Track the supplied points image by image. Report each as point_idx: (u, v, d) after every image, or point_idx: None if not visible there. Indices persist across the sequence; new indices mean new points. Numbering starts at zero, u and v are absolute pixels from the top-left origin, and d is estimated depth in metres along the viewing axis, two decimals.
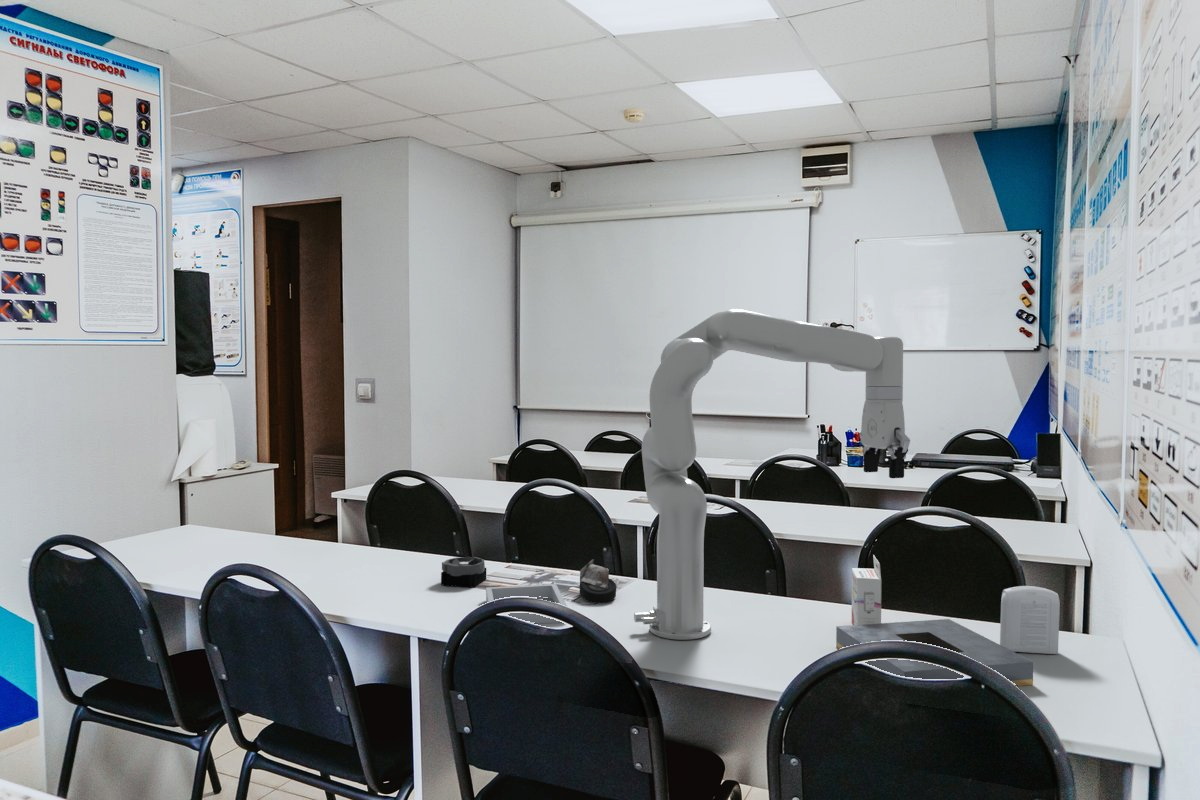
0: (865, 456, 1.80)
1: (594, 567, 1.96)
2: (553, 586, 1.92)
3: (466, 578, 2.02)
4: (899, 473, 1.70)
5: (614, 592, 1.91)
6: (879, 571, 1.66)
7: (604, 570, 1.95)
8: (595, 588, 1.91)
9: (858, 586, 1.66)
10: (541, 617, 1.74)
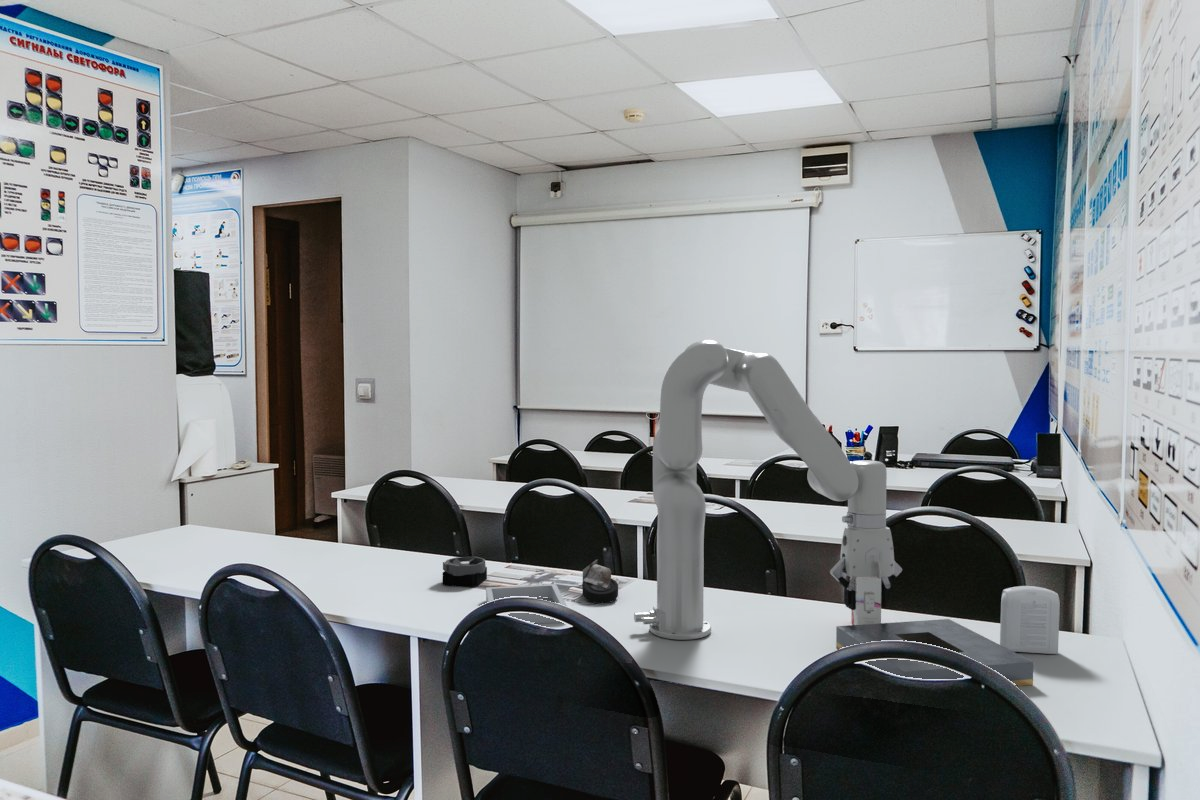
0: (854, 593, 1.68)
1: (597, 567, 1.96)
2: (553, 586, 1.92)
3: (468, 578, 2.03)
4: None
5: (616, 592, 1.90)
6: (879, 571, 1.66)
7: (607, 571, 1.95)
8: (597, 588, 1.90)
9: (858, 586, 1.66)
10: (541, 617, 1.74)
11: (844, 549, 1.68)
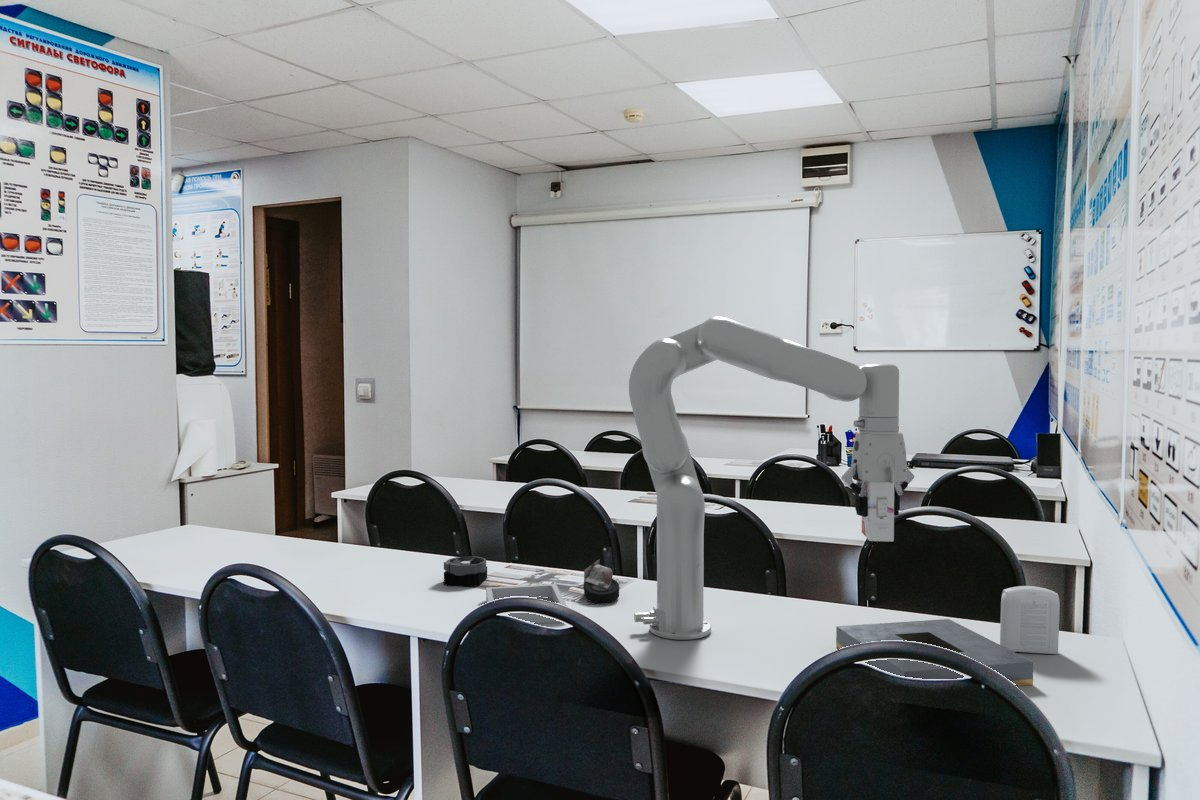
0: (866, 499, 1.63)
1: (599, 567, 1.96)
2: (553, 586, 1.92)
3: (470, 577, 2.03)
4: None
5: (616, 593, 1.90)
6: (892, 475, 1.61)
7: (608, 571, 1.94)
8: (597, 588, 1.90)
9: (871, 491, 1.61)
10: (541, 617, 1.74)
11: (856, 454, 1.63)
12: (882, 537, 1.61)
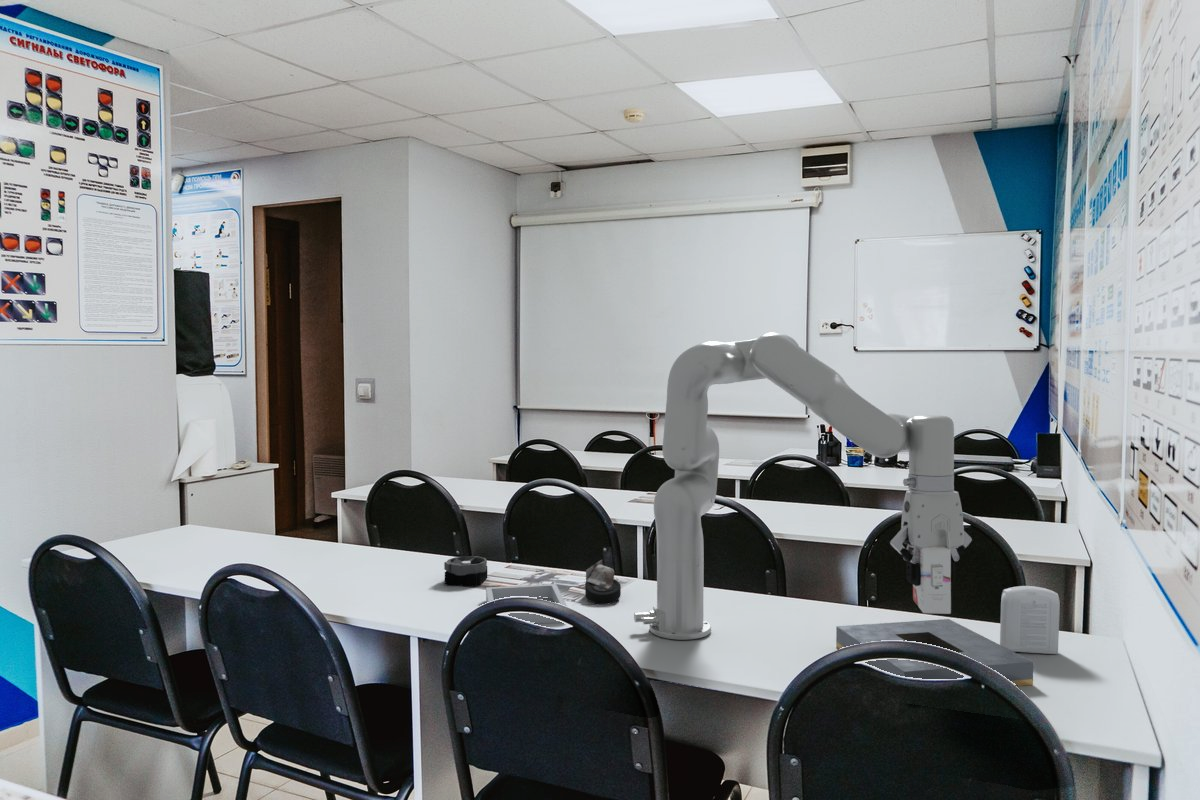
0: (919, 566, 1.47)
1: (601, 568, 1.96)
2: (553, 586, 1.92)
3: (471, 577, 2.03)
4: None
5: (617, 593, 1.89)
6: (948, 540, 1.45)
7: (610, 571, 1.94)
8: (598, 589, 1.90)
9: (924, 558, 1.45)
10: (541, 617, 1.74)
11: (906, 516, 1.47)
12: (938, 609, 1.45)
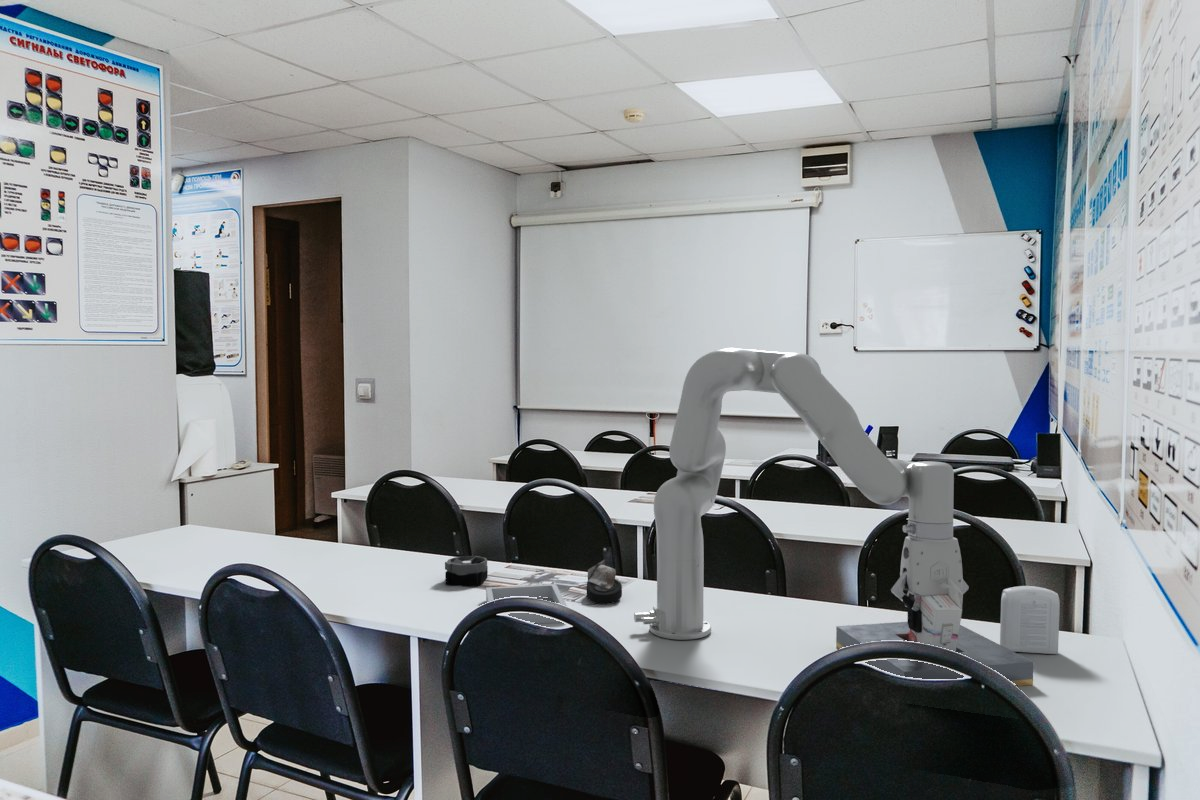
0: (920, 613, 1.47)
1: (603, 568, 1.95)
2: (553, 586, 1.92)
3: (472, 577, 2.04)
4: None
5: (618, 594, 1.89)
6: (960, 600, 1.42)
7: (612, 571, 1.94)
8: (599, 589, 1.90)
9: (937, 618, 1.42)
10: (541, 617, 1.74)
11: (905, 563, 1.48)
12: None
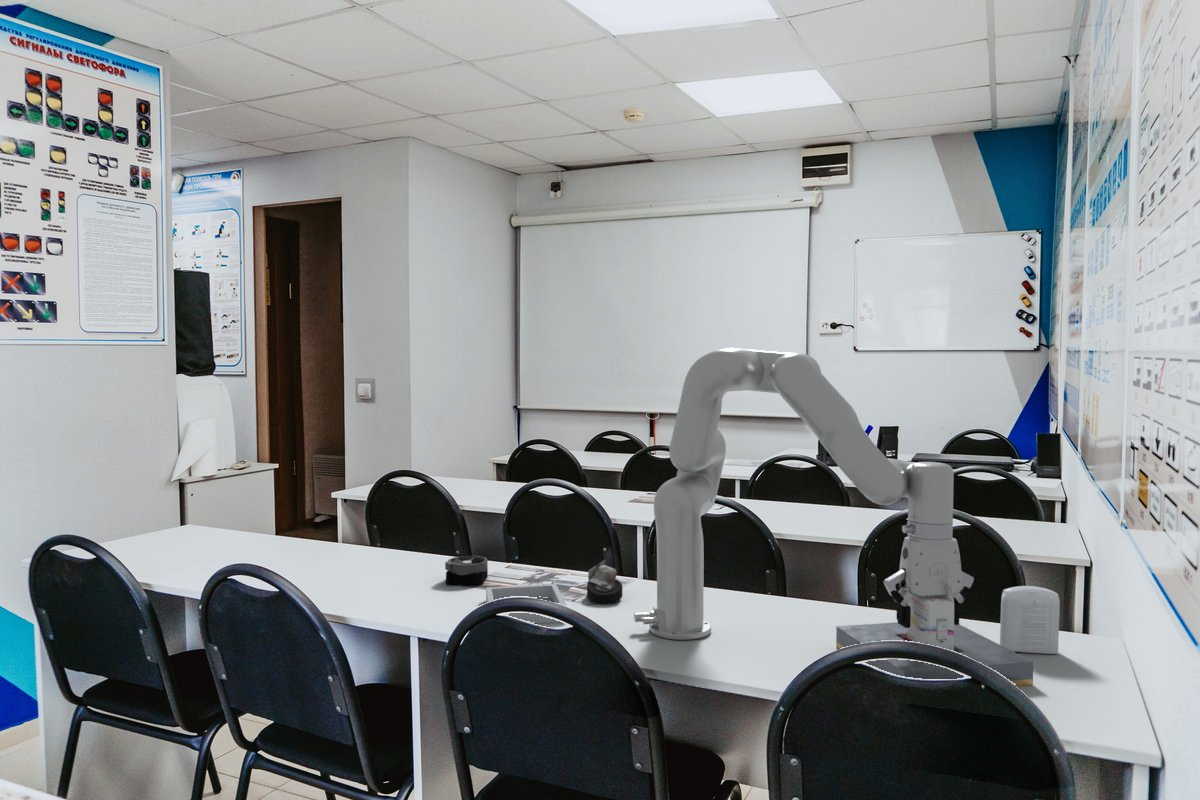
0: (909, 609, 1.47)
1: (604, 568, 1.95)
2: (553, 586, 1.92)
3: (473, 576, 2.04)
4: None
5: (619, 594, 1.89)
6: (951, 593, 1.46)
7: (612, 572, 1.94)
8: (600, 589, 1.90)
9: (930, 612, 1.45)
10: (541, 617, 1.74)
11: (904, 563, 1.48)
12: None
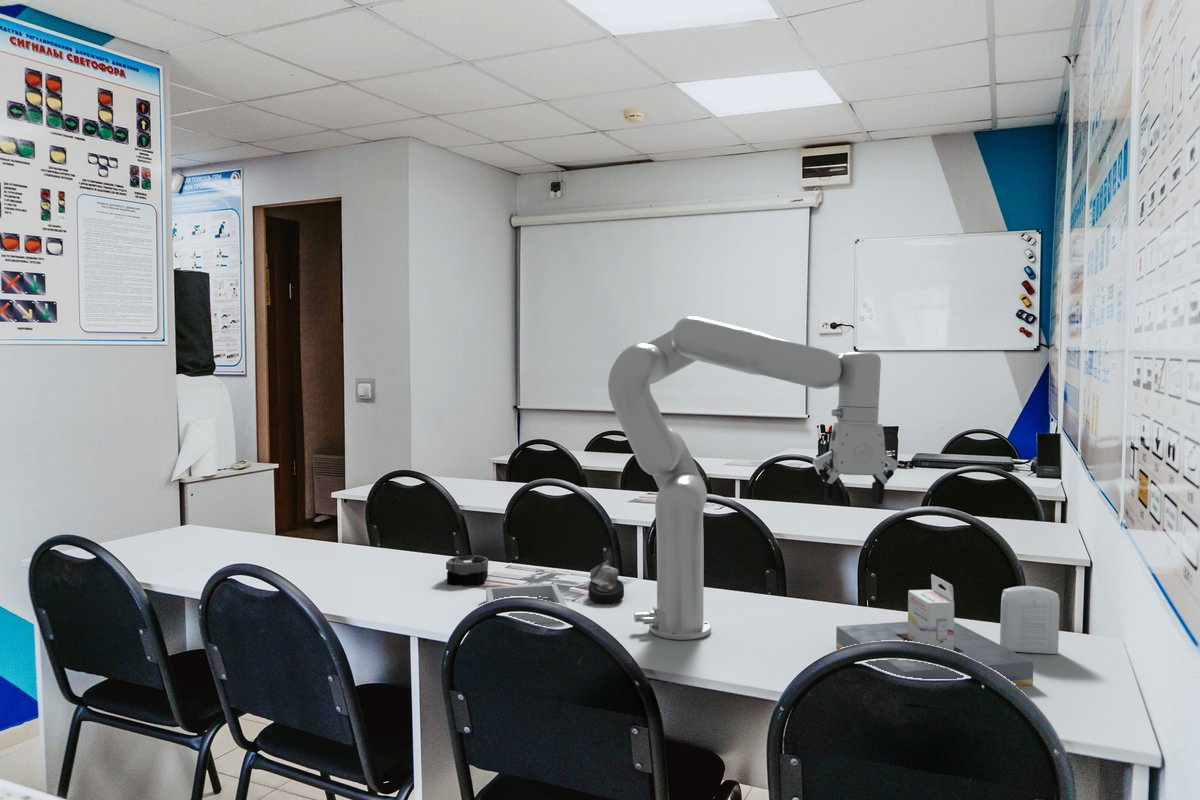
0: (835, 486, 1.58)
1: (606, 568, 1.95)
2: (553, 586, 1.92)
3: (475, 576, 2.04)
4: None
5: (620, 594, 1.89)
6: (951, 593, 1.46)
7: (614, 572, 1.93)
8: (601, 589, 1.90)
9: (930, 612, 1.45)
10: (541, 617, 1.74)
11: (832, 444, 1.59)
12: None
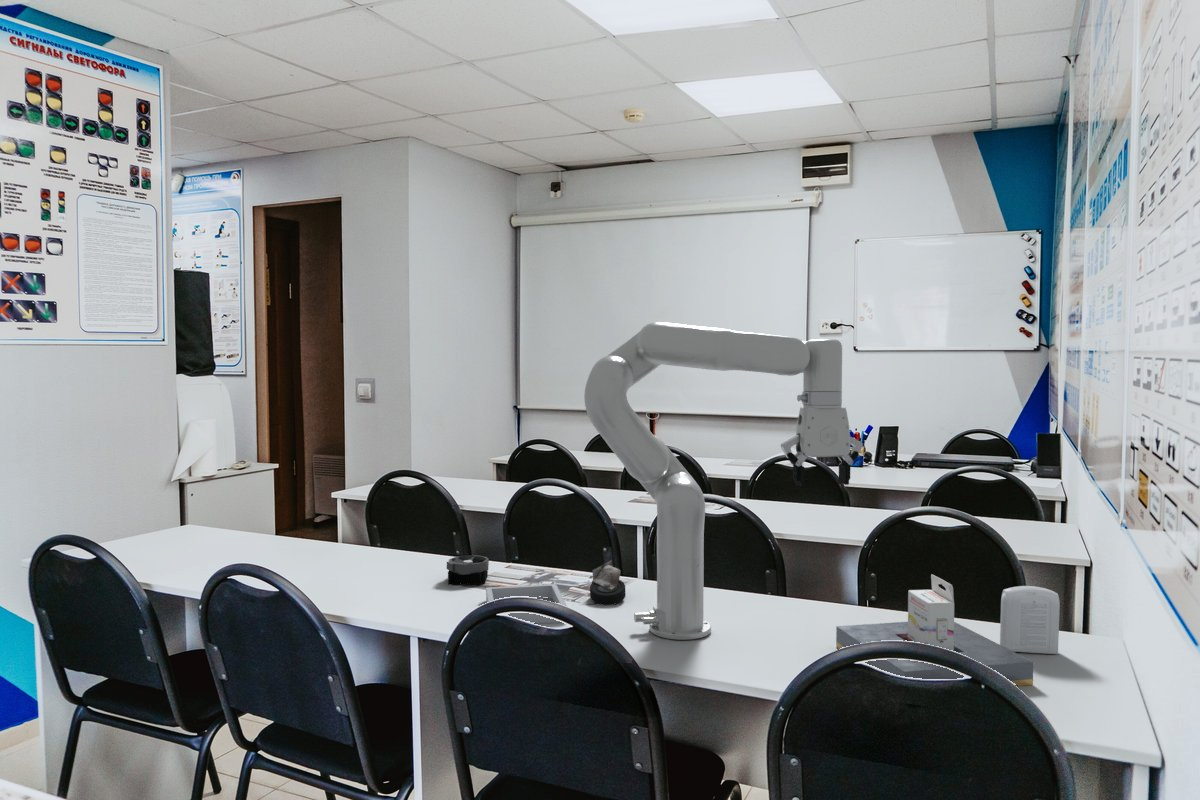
0: (803, 468, 1.64)
1: (608, 568, 1.95)
2: (553, 586, 1.92)
3: (476, 576, 2.05)
4: None
5: (620, 595, 1.88)
6: (951, 593, 1.46)
7: (616, 572, 1.93)
8: (602, 589, 1.90)
9: (930, 612, 1.45)
10: (541, 617, 1.74)
11: (799, 428, 1.65)
12: None
